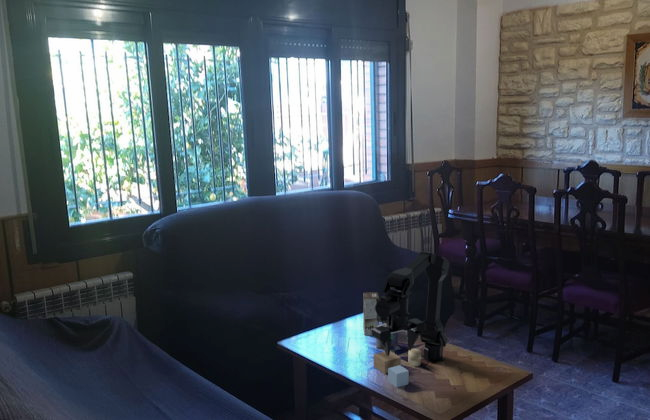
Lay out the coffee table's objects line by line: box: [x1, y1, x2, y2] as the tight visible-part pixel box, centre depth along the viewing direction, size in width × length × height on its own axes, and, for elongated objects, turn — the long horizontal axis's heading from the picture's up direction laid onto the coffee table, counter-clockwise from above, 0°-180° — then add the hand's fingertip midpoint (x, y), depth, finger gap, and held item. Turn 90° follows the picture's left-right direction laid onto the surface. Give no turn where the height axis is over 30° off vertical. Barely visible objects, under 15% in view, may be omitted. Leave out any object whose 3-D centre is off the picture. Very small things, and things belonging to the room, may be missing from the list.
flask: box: [375, 323, 399, 350], centre depth 218 cm, size 9×3×11 cm, turn 109°
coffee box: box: [362, 291, 380, 336], centre depth 233 cm, size 9×6×16 cm
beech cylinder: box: [407, 348, 422, 367], centre depth 203 cm, size 5×5×5 cm
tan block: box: [373, 350, 402, 375], centre depth 200 cm, size 7×7×5 cm
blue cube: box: [387, 364, 410, 388], centre depth 189 cm, size 5×5×5 cm
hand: (398, 352), depth 188 cm, fingers open, 9 cm apart
